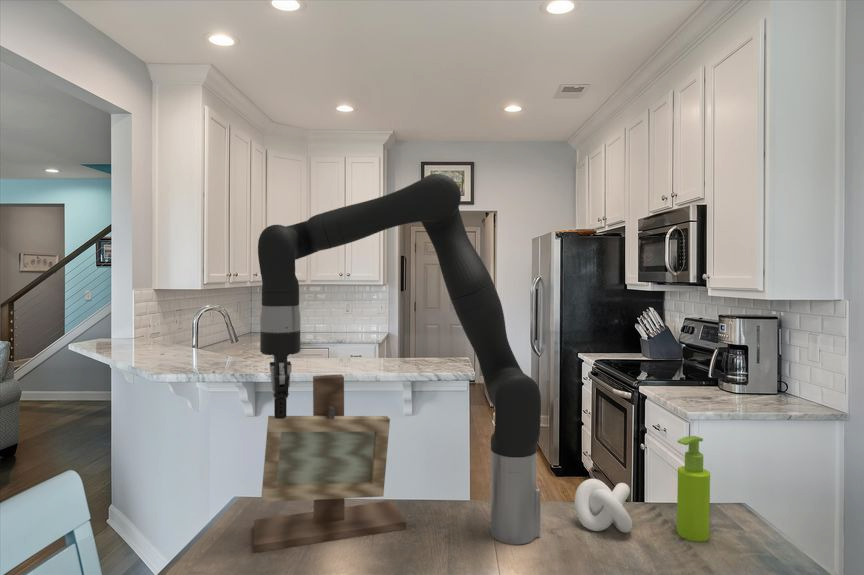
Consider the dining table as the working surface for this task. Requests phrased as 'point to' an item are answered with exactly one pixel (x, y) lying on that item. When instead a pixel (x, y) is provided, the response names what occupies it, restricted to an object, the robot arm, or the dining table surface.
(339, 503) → the stand
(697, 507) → the soap dispenser
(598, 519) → the white decorative knot
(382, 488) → the frame
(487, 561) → the dining table surface
